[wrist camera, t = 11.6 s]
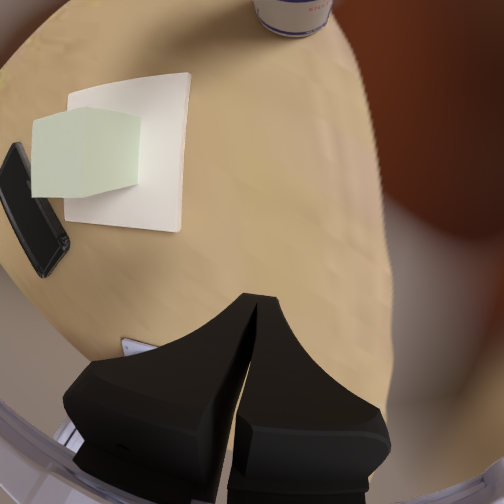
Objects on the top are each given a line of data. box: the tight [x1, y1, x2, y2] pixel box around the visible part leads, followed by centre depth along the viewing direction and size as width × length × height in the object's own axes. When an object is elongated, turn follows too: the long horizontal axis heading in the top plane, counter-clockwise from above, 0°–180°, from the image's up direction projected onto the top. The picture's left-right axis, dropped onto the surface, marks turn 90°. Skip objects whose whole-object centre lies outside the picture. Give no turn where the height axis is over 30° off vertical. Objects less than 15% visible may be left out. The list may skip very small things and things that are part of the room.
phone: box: [0, 142, 70, 278], centre depth 22 cm, size 8×1×15 cm
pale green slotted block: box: [31, 106, 142, 198], centre depth 15 cm, size 5×5×7 cm
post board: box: [64, 72, 192, 232], centre depth 17 cm, size 12×12×5 cm
